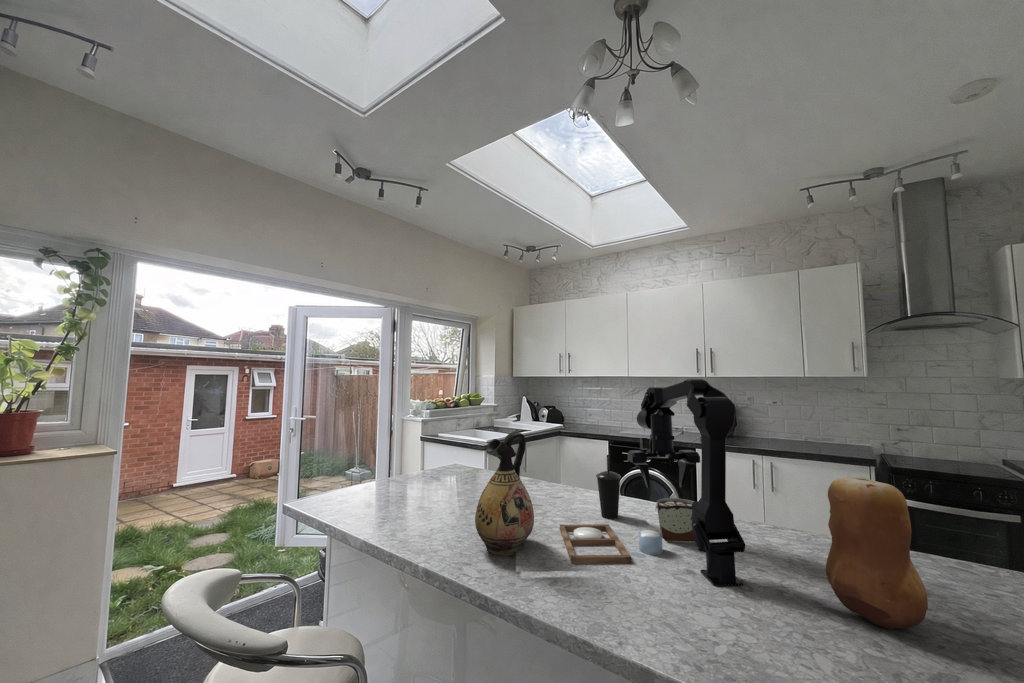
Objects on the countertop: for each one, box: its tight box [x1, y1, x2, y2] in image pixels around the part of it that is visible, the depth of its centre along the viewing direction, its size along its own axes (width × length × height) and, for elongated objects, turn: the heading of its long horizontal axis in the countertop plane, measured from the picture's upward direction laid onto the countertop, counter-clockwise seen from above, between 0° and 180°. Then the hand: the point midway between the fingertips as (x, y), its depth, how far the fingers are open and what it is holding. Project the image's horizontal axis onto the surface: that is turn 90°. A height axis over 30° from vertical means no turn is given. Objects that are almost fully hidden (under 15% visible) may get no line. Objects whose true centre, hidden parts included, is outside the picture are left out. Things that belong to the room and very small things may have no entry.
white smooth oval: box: [573, 527, 603, 539], centre depth 113 cm, size 8×8×1 cm
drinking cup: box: [595, 454, 622, 520], centre depth 130 cm, size 8×8×20 cm
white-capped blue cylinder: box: [638, 529, 664, 556], centre depth 103 cm, size 6×6×5 cm
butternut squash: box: [825, 475, 929, 630], centre depth 76 cm, size 14×13×25 cm
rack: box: [559, 523, 632, 565], centre depth 107 cm, size 22×14×2 cm, turn 0°
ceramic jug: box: [474, 431, 535, 556], centre depth 109 cm, size 17×15×30 cm
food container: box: [654, 497, 695, 543], centre depth 115 cm, size 12×6×10 cm, turn 84°
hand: (664, 488), depth 115 cm, fingers open, 9 cm apart
